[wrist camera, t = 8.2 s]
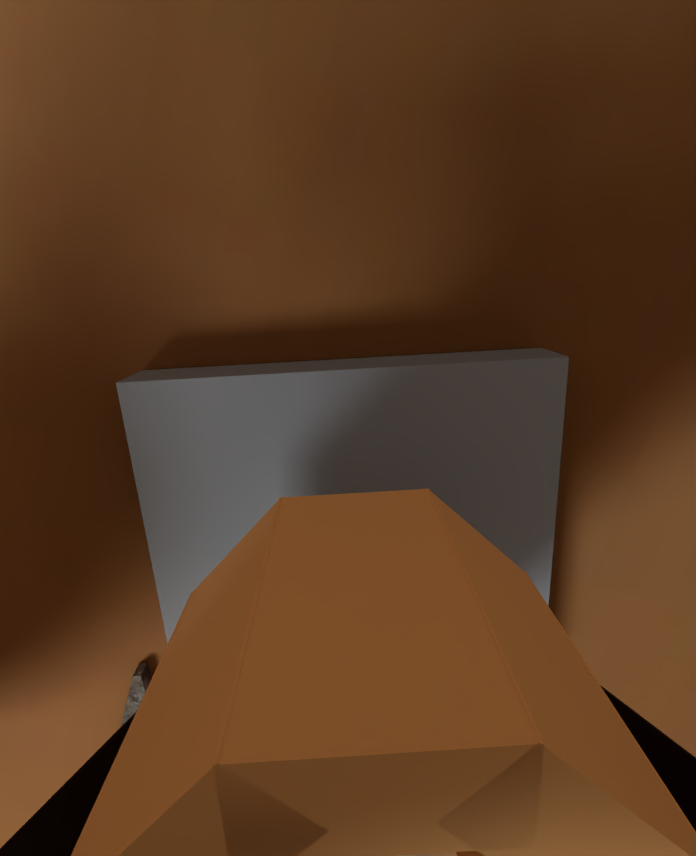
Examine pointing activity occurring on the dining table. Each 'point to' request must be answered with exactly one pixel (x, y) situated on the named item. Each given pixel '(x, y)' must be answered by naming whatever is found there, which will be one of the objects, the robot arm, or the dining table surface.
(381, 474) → the pin base
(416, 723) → the collar
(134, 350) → the dining table surface
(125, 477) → the dining table surface
